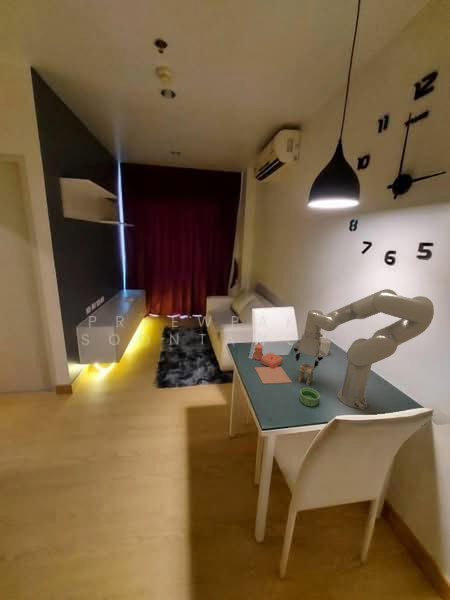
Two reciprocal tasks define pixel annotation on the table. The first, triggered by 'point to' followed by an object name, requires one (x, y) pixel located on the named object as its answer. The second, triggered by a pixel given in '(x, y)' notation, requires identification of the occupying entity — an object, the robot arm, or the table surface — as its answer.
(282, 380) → the mat
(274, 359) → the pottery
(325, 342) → the white cup
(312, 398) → the ramekin
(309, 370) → the stool
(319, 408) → the table surface
